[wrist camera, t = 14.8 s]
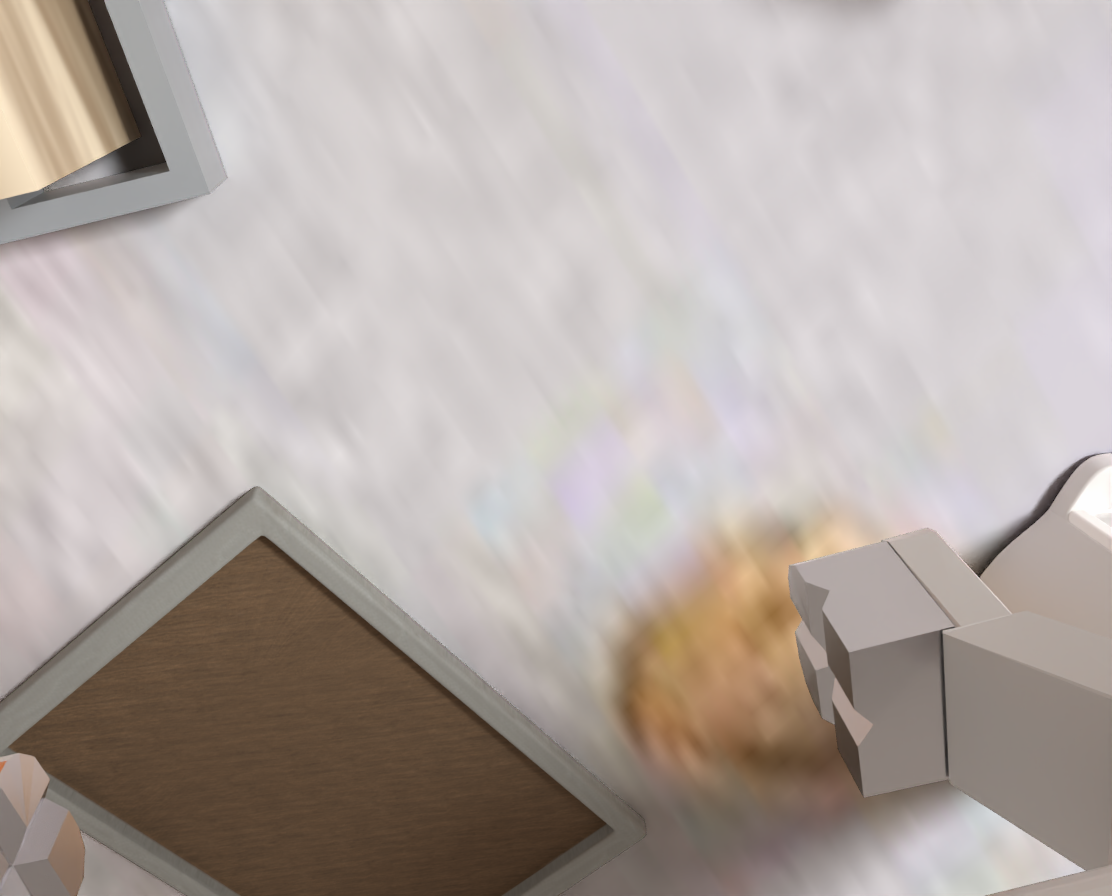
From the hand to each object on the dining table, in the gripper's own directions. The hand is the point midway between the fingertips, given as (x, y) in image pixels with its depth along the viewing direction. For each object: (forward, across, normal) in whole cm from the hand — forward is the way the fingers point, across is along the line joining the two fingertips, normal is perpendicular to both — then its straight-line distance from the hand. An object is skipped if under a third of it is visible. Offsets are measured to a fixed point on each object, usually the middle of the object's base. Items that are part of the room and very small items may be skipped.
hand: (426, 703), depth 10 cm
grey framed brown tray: (+30, +12, +28) cm, 43 cm away
